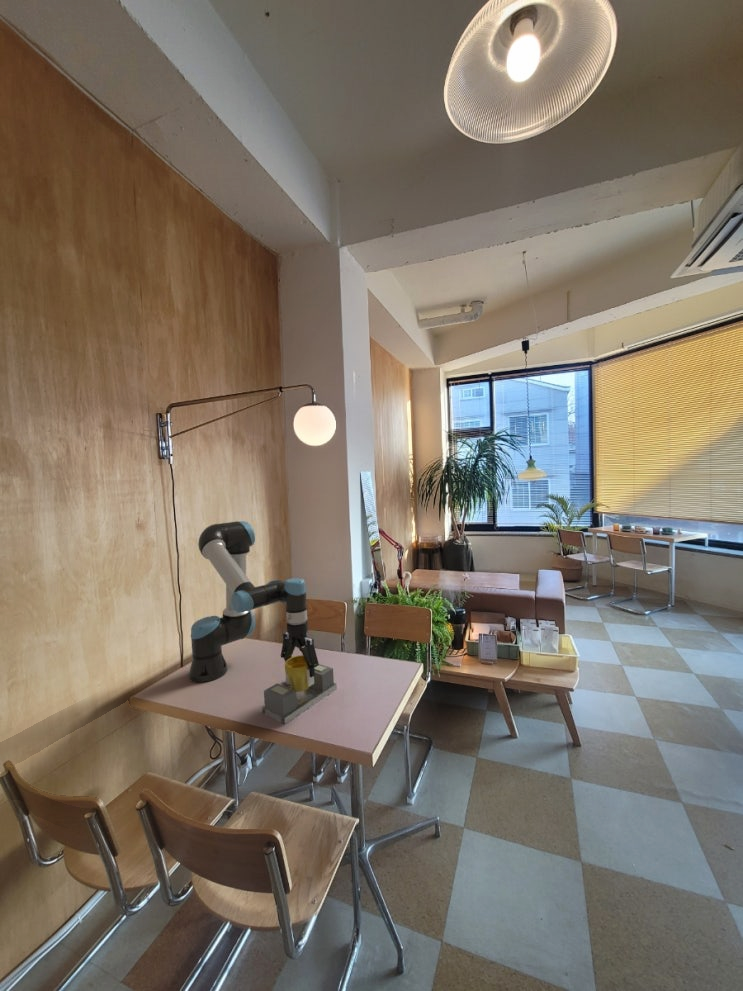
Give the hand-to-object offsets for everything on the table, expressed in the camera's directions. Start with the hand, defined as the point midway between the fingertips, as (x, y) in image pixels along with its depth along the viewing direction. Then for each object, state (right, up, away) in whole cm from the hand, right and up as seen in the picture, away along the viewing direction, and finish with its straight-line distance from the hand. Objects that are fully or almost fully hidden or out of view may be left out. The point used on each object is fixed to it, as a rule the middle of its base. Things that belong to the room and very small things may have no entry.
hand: (300, 680), depth 144 cm
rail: (0, -7, 0) cm, 7 cm away
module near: (-5, -6, -7) cm, 11 cm away
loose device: (-5, -7, +14) cm, 16 cm away
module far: (+6, -5, +8) cm, 11 cm away
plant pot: (0, -2, 0) cm, 2 cm away
